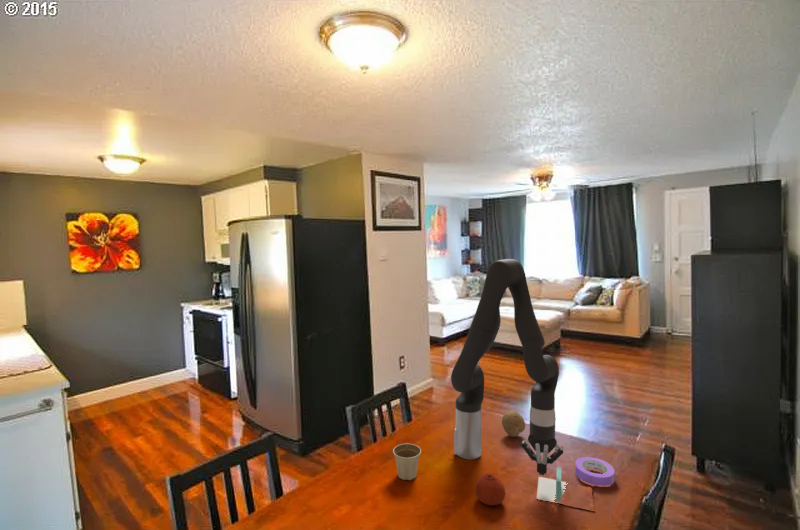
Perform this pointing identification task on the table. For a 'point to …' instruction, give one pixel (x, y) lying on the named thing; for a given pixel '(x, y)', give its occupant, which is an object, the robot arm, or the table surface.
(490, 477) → the fruit
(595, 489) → the table surface
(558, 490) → the tile
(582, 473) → the masking tape
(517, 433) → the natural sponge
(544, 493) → the mat
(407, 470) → the flower pot
